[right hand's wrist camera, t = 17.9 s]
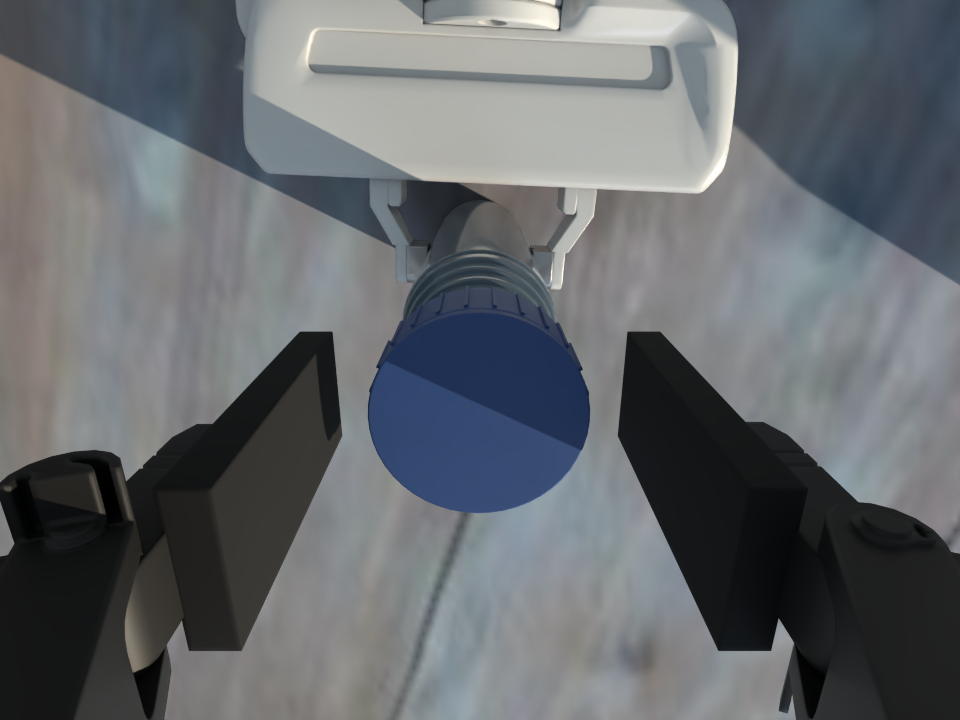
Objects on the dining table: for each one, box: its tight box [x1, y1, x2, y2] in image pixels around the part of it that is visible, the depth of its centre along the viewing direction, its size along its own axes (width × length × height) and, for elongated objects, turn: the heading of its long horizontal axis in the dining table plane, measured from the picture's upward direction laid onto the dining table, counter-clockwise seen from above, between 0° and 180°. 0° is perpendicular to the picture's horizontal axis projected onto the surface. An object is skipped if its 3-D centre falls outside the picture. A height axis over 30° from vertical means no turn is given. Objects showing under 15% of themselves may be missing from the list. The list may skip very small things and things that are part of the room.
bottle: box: [403, 200, 556, 323], centre depth 23 cm, size 5×5×22 cm
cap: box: [368, 286, 590, 513], centre depth 13 cm, size 5×5×2 cm
